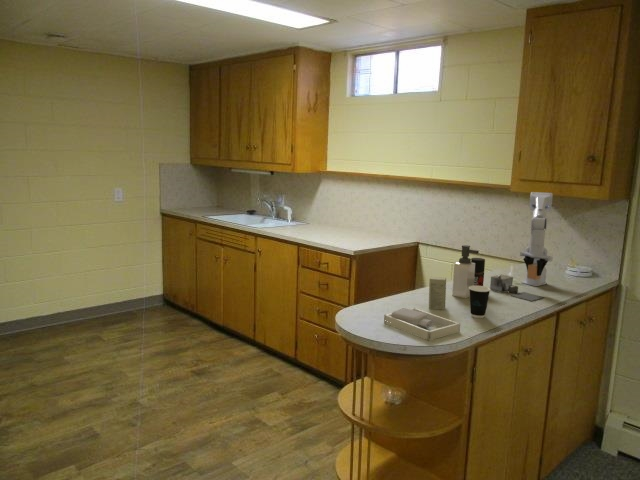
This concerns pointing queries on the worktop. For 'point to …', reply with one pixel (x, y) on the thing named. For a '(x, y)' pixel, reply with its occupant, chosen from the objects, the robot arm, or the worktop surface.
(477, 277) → the deodorant
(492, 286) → the junction box
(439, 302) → the skincare box
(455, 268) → the soap dispenser
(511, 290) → the black knob
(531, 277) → the block
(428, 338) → the tray
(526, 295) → the rubber mat
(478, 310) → the dixie cup
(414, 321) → the charger
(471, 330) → the worktop surface
